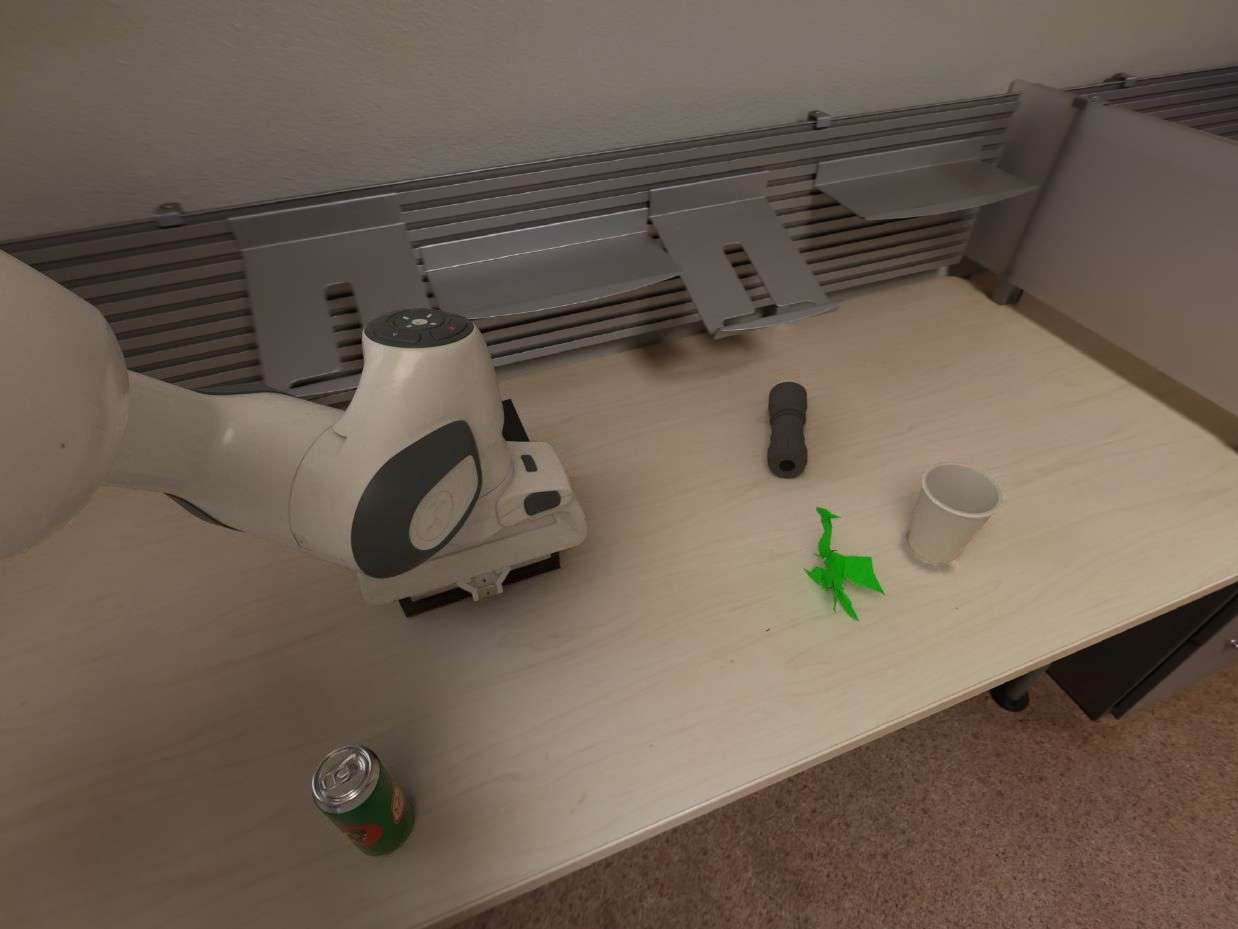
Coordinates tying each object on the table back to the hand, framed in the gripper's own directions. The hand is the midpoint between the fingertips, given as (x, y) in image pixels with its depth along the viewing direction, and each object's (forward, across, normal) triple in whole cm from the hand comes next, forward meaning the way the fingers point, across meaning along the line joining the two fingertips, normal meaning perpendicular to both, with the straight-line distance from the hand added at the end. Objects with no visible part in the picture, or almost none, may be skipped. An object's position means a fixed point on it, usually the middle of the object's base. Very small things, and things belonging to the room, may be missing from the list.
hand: (487, 591), depth 62 cm
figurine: (+10, +37, -7) cm, 39 cm away
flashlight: (+9, +45, +17) cm, 49 cm away
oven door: (+10, 0, +5) cm, 11 cm away
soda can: (+10, -14, -14) cm, 22 cm away
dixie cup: (+9, +52, -6) cm, 53 cm away
